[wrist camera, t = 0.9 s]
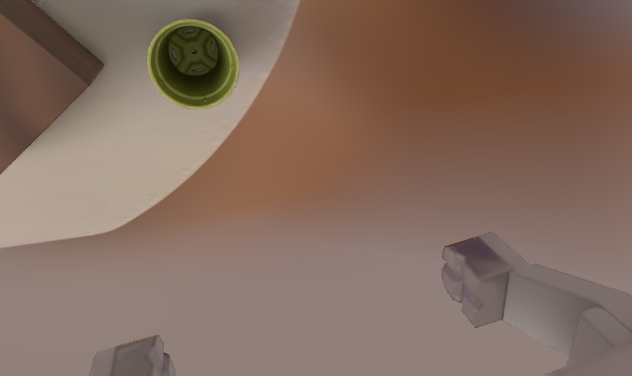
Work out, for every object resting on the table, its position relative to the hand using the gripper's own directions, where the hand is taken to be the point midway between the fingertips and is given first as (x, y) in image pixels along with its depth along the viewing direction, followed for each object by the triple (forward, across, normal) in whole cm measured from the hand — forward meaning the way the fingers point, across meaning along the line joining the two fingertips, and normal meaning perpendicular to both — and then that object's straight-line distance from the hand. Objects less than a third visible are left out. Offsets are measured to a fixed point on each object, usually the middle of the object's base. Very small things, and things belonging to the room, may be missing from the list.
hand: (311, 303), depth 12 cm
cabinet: (+47, +22, 0) cm, 52 cm away
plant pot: (+47, +3, +2) cm, 48 cm away
